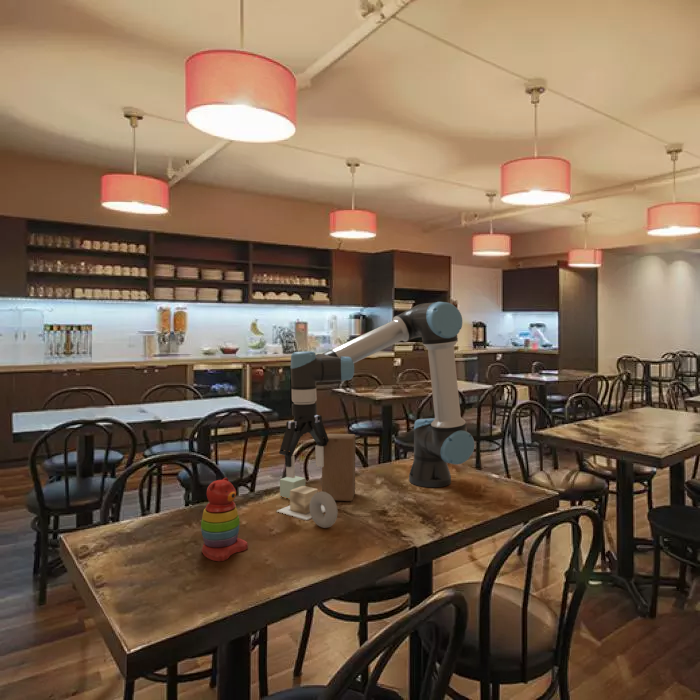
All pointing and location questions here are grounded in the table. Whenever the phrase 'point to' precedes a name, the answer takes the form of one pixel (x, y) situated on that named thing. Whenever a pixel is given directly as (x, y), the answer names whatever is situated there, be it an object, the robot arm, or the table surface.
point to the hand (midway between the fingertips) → (305, 471)
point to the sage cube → (290, 485)
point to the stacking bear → (221, 522)
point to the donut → (329, 506)
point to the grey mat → (297, 513)
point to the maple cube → (301, 499)
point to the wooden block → (339, 467)
